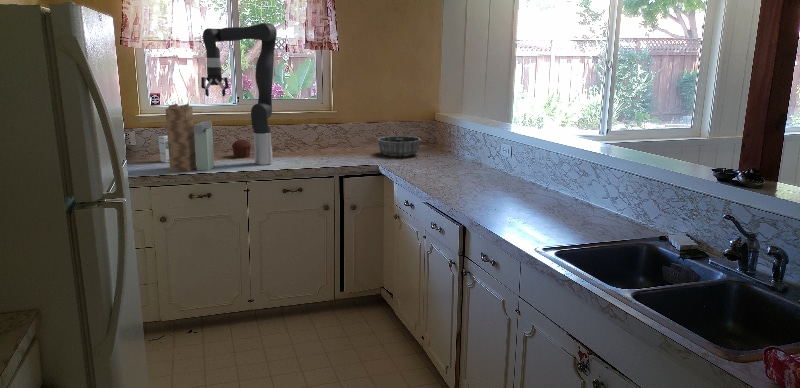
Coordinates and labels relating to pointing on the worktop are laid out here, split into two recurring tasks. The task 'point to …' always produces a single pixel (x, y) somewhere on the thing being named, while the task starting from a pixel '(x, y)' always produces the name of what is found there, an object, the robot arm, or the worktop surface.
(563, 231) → the worktop surface
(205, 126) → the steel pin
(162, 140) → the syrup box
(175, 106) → the jenga block tower
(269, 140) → the robot arm
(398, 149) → the bundt pan
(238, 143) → the muffin
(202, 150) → the pale green tall block
